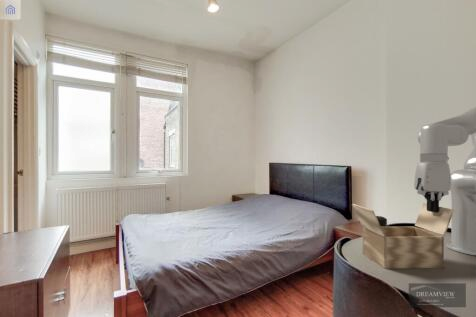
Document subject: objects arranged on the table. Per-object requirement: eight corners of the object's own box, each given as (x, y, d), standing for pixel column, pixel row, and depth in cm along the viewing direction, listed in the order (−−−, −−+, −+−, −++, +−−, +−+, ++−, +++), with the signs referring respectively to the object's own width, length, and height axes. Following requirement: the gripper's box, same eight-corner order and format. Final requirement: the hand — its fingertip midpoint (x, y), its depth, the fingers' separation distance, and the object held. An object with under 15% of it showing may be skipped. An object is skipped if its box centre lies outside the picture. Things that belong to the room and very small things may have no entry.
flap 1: (353, 203, 88) (352, 204, 88) (373, 210, 76) (372, 211, 76) (363, 225, 88) (362, 226, 88) (384, 235, 76) (383, 236, 76)
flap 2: (414, 225, 89) (415, 225, 89) (443, 235, 78) (444, 235, 78) (423, 203, 90) (424, 203, 90) (452, 209, 78) (454, 210, 78)
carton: (413, 253, 89) (414, 226, 89) (443, 267, 77) (443, 236, 78) (362, 253, 88) (363, 226, 88) (385, 268, 76) (385, 237, 76)
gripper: (443, 160, 88) (442, 209, 88) (405, 159, 87) (404, 209, 87) (464, 160, 81) (463, 214, 80) (422, 158, 80) (421, 213, 79)
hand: (432, 211), depth 84 cm, fingers closed
